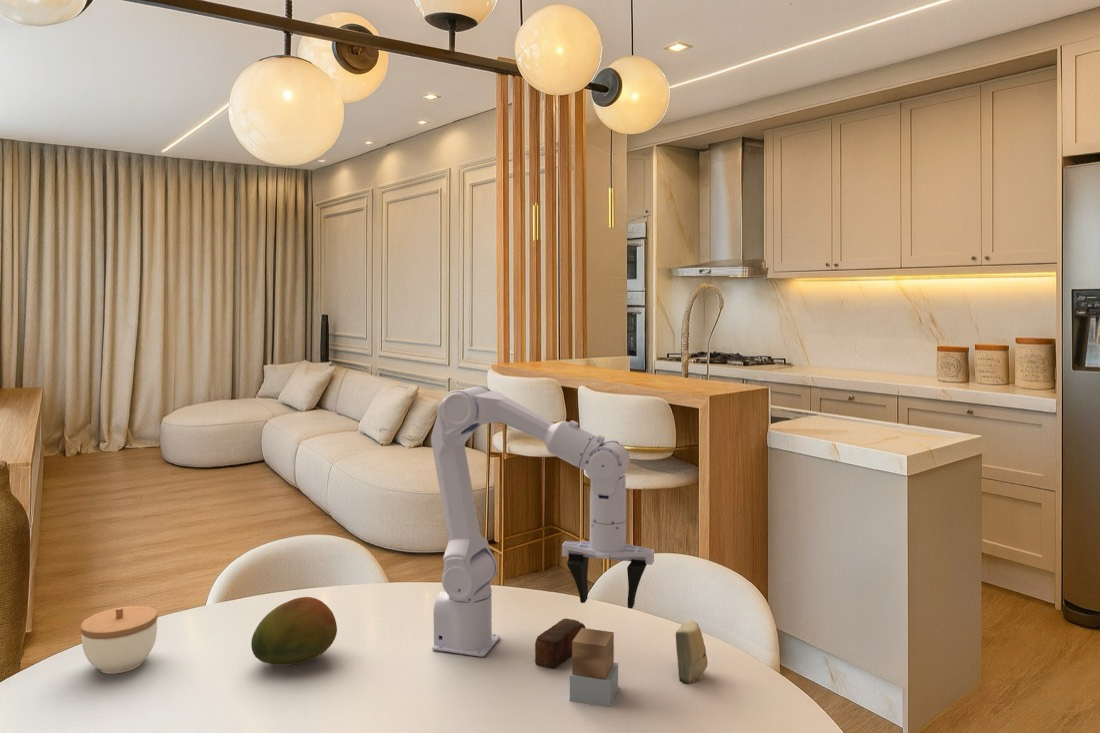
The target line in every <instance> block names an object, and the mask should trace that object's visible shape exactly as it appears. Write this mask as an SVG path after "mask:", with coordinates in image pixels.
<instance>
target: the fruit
mask: <svg viewBox="0 0 1100 733" xmlns="http://www.w3.org/2000/svg"><path fill="white" fill-rule="evenodd" d="M337 633H338V626H337V620H336V617H335V615H334V612H333V611H332V610H331V609H330V607H329V606H328V605H327V604H326V603H324V601H322V600H320V599H318V598H315V597H311V596H303V597H297V598H293V599H291V600H288V601H285V602H284V603H281V604H280V605H278V606H276V607H275V608H273V609H272V610H271V611H270V612H268V613H267V614H266V615H265V616H264V617H263V618H262V619H261V621H260V622H259V624H258V625H257V626H256V628H255V630H254V632H253V634H252V637H251V643H250V645H251V650H252V653H253V656H254V657H255V658H257V660H258V661H260V662H262V663H264V664H268V665H273V666H291V665H292V666H293V665H297V664H302V663H306V662H308V661H311V660H314V659H316V658H318V657H320V656H321V655H322V654H324V653H325V652H326V651H327V650H329V648H330V647H331V646H332V645H333V643H334V641H335V639H336V638H337Z"/></svg>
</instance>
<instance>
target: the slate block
mask: <svg viewBox="0 0 1100 733" xmlns="http://www.w3.org/2000/svg"><path fill="white" fill-rule="evenodd" d="M618 689H619V662H615V661H614V665H613V667H612V669H611V670H610V672H609V674H608V676H607V678H606V680H603V679H597V678H590V677H584V676H578V675H572V672H571V673H570V675H569V701H570V702H575V703H582V704H587V705H588V704H589V705H592V706H593V705H594V706H602V707H606V708H607V707H608V708H611V707H612V706H611V705H612V702H613V700H614V698H615V696H616V693H617V691H618Z"/></svg>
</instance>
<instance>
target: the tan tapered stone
mask: <svg viewBox="0 0 1100 733" xmlns="http://www.w3.org/2000/svg"><path fill="white" fill-rule="evenodd" d="M704 641H705V640H704V637H703V633H702V631H701V628H700V625H699V623H698V622H696V621H695V620H692V619H689V620H686V621H685V622H684V624H682V625H681V626H680V627H679V628H677V630H676V631H675V647H676V659H677V669H678V670H677V671H678V678H679V682H682V683H685V684H692V683H694V682H697V681H698V682H699V681H701V680H702V679H703V676H704V675H703V674H704V672H706V670H707V668H708V655H707V651H706V649H707V647H706V645H705V642H704Z"/></svg>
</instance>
